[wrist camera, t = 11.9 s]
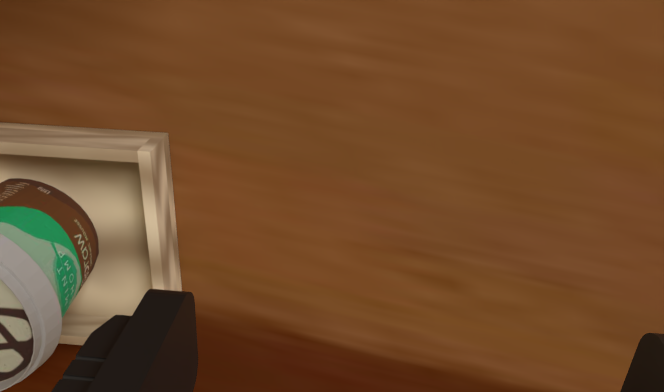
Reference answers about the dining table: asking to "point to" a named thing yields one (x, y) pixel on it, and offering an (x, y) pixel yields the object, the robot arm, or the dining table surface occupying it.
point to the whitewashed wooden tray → (106, 210)
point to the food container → (38, 271)
